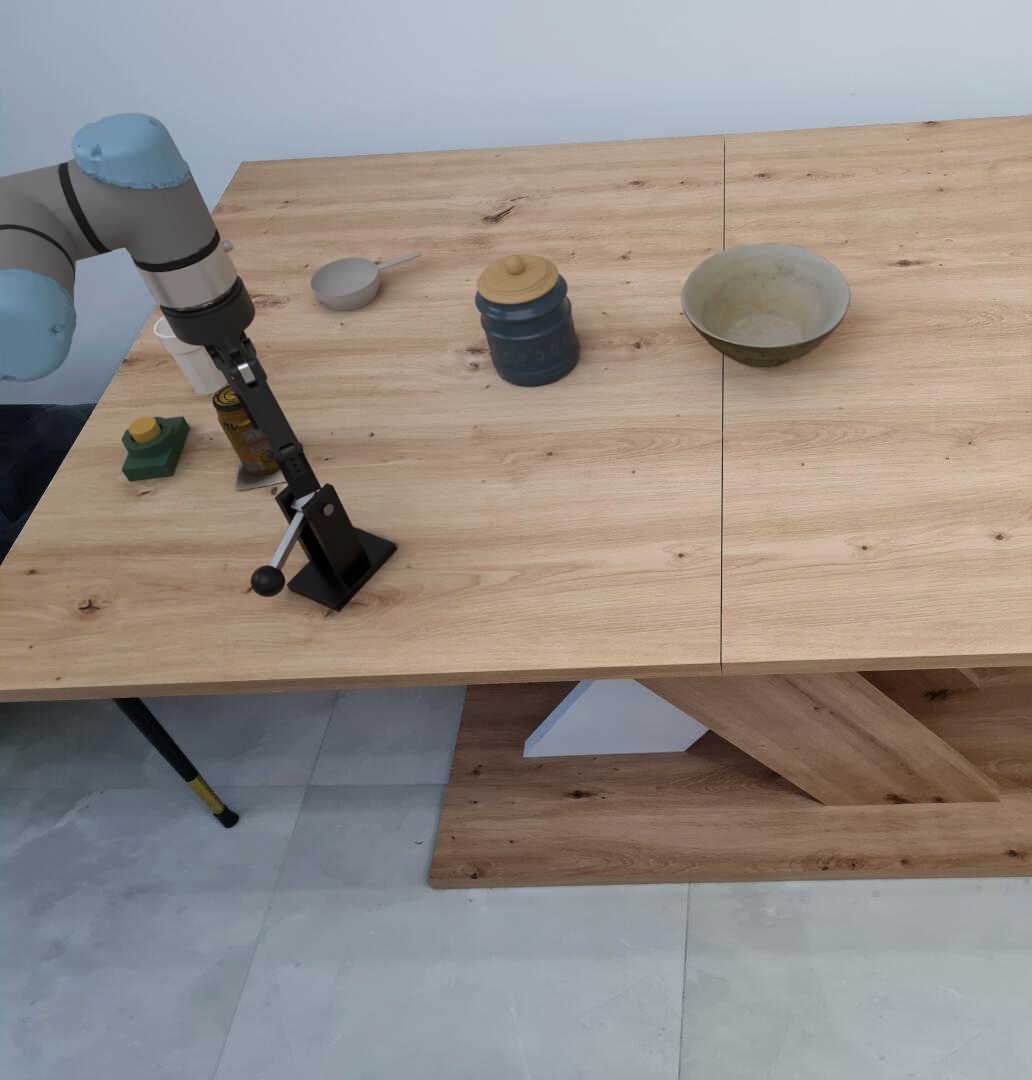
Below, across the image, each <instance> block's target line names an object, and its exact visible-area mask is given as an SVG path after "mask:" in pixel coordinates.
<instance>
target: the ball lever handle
mask: <svg viewBox="0 0 1032 1080" xmlns="http://www.w3.org/2000/svg"><path fill="white" fill-rule="evenodd" d="M317 492H318V490H317V491H315V492H313V493H311V494H309V495H307V496H305V497H303V498H300V499H298V500H296V498H295V499H294V501H293V503H292V505H291V508H293V509H295V510H297V513H296V515H295V517H294V518H293V520H292V522H291V524H290V525H288V528H287V529H286V532H285V533H284V536H283V538H282V540H281V541H280V543H279V545H278V547H277V549H276V550H275V553H274V555H273V557H272V558H271V560H270V562H269V564H268V565H267V564H266V565H262V566H259V567H257V568H256V569H255V570H254V571H253V573H252V574H251V576H250V586H251V589H252V590H253V592H254V593H255V594H256V595H258V596H260V597H263V598H272V597H275V596H277V595H279V594H281V592H282V591H283V589H284V587H285V586H286V577H285V574H284V572H283V571H282V570H283V567H285V564H286V562H287V560H288V558H289V557H290V555H291V552H292V551H293V549H294V547H295V545H296V544H297V541H298V540H297V539H298V537H299V536H300V534H301V532H302V530H303V528H304V526H305V524H306V522H307V519H306V518H305V516H304V514H303V512H302V510H301V507H302V506H303V505H304V504H305V503H307V502H308V501H309V500H310V499H311V498H312V497H313V496H314V495H315V494H316V493H317Z"/></svg>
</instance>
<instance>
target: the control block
mask: <svg viewBox="0 0 1032 1080" xmlns="http://www.w3.org/2000/svg"><path fill="white" fill-rule="evenodd" d="M152 417H153V418H154V419H155V420H156V422H157V423H158V425H159V426H160V428H161V434H160V435H159V436H158V437H157V438H155V439H154V440H151V441H149V442H146V443H137V442H136V441H135V440H134V438H133V437H132V435H131V434H130V432H129V427H128V428H127V429H126V430H125V431H124V433H123V435H122V437H121V442H122V444H123V446H124V448H125V449H126V451H127V455H126V457H125V459H124V462H123V465H122V467H121V472H122V473H123V475H124V476H125V477H126V479H127V481H128V482H135V481H143V480H151V479H158V478H160V479H161V478H168V477H173V476H174V473H175V471H176V469H177V465H178V463H179V460H180V457H181V454H182V451H183V449H184V446H185V443H186V440H187V437H188V434H189V432H190V430H191V426H190V425H189V424H188V422H187V420H186V419H185V418H186V417H184V416H183V415H181V416H173V417H162V416H152Z"/></svg>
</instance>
